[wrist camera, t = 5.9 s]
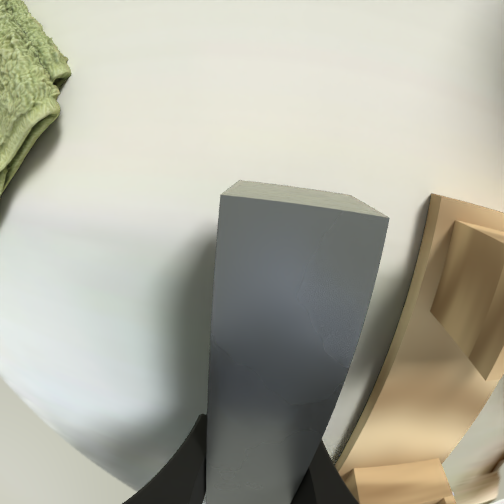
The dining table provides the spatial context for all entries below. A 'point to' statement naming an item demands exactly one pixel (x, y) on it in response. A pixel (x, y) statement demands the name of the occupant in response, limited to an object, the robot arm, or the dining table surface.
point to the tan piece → (434, 361)
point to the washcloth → (25, 85)
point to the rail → (282, 331)
